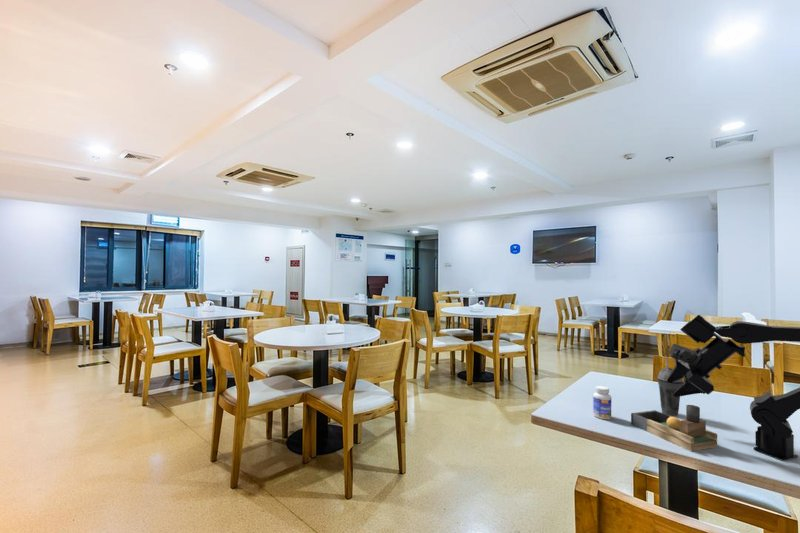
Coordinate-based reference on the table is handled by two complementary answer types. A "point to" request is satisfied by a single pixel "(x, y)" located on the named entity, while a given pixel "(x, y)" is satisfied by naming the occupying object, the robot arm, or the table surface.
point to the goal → (641, 418)
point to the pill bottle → (602, 403)
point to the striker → (693, 422)
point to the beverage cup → (668, 392)
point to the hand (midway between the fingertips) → (671, 388)
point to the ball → (673, 423)
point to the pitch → (682, 436)
